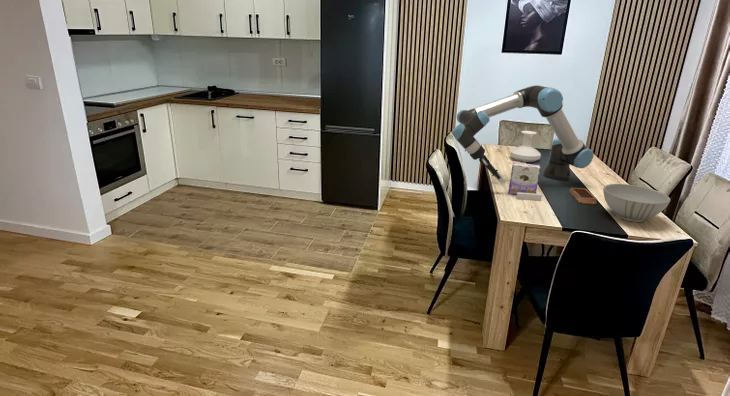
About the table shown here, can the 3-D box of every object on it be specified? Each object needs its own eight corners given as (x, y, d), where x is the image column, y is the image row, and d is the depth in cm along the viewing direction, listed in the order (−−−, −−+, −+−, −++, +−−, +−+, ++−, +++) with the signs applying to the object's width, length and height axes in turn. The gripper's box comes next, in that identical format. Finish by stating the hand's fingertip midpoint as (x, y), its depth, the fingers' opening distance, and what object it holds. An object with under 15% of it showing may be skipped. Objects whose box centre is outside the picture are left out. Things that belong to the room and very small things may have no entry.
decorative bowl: (637, 232, 184) (644, 206, 180) (585, 210, 207) (590, 186, 203) (676, 224, 195) (684, 199, 190) (622, 203, 218) (628, 181, 213)
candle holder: (542, 159, 296) (547, 132, 289) (536, 165, 280) (541, 136, 273) (513, 154, 306) (517, 128, 299) (505, 160, 290) (510, 132, 283)
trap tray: (584, 193, 230) (585, 188, 229) (595, 204, 215) (597, 199, 214) (569, 192, 231) (570, 187, 230) (579, 203, 216) (580, 197, 215)
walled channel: (533, 190, 233) (534, 185, 232) (540, 200, 218) (542, 195, 217) (510, 188, 234) (511, 183, 233) (516, 199, 219) (517, 193, 218)
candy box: (535, 194, 227) (540, 164, 221) (535, 198, 221) (541, 167, 216) (508, 190, 231) (512, 161, 225) (507, 194, 225) (512, 164, 220)
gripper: (467, 151, 228) (495, 182, 232) (470, 157, 216) (499, 190, 220) (479, 142, 225) (506, 174, 230) (482, 148, 213) (511, 181, 218)
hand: (503, 182), depth 225 cm, fingers closed
